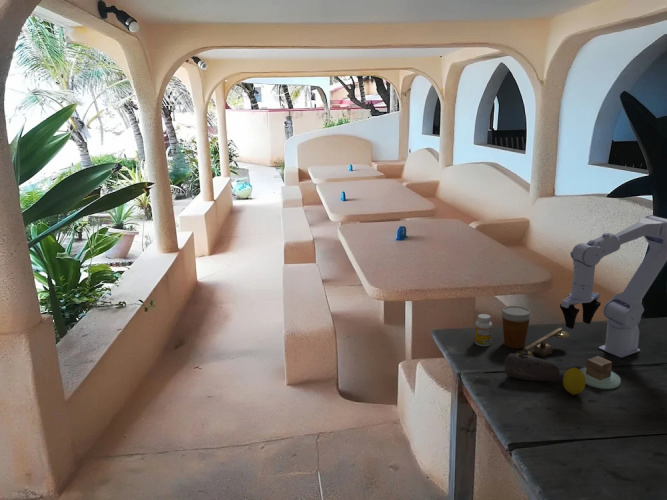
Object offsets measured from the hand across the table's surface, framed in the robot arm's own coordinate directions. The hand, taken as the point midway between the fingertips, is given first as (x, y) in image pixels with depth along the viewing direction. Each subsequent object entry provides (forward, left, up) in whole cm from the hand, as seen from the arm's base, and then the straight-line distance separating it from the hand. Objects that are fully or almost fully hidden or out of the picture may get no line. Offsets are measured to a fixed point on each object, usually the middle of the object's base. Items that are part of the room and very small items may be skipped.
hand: (578, 325), depth 161 cm
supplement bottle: (+18, -22, -11) cm, 30 cm away
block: (+7, +13, -9) cm, 17 cm away
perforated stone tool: (+23, +3, -11) cm, 25 cm away
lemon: (+20, +15, -11) cm, 27 cm away
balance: (+7, -7, -10) cm, 14 cm away
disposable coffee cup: (+10, -16, -11) cm, 21 cm away
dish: (+7, +13, -10) cm, 18 cm away
